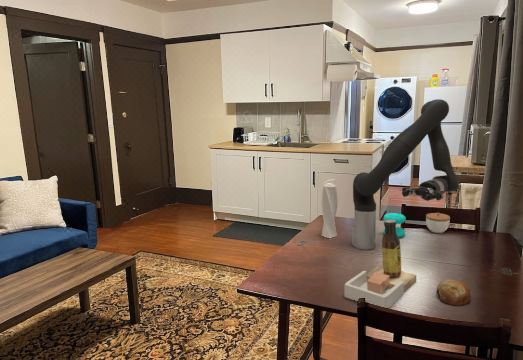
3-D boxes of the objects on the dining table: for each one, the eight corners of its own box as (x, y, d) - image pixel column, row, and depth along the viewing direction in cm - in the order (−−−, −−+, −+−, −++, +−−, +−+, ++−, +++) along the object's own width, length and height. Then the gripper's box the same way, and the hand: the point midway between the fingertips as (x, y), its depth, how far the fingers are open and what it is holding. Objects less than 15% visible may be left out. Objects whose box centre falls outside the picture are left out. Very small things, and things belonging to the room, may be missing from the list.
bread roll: (434, 301, 132) (426, 282, 131) (461, 287, 132) (453, 268, 130) (451, 316, 123) (442, 296, 121) (480, 301, 122) (471, 281, 121)
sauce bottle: (402, 278, 136) (401, 223, 132) (384, 278, 137) (382, 224, 133) (400, 270, 142) (398, 218, 138) (382, 270, 143) (380, 218, 140)
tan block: (371, 285, 132) (371, 277, 132) (376, 280, 136) (376, 272, 135) (384, 289, 130) (384, 281, 129) (389, 283, 133) (389, 275, 132)
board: (364, 282, 140) (364, 275, 139) (379, 271, 148) (379, 265, 148) (402, 294, 130) (402, 287, 130) (416, 281, 139) (416, 275, 138)
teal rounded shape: (381, 212, 190) (401, 212, 190) (380, 232, 192) (400, 231, 192) (387, 218, 180) (409, 217, 180) (386, 238, 182) (408, 238, 182)
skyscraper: (328, 233, 193) (328, 178, 187) (340, 236, 187) (341, 180, 182) (318, 237, 188) (318, 180, 182) (330, 240, 182) (331, 182, 177)
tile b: (370, 289, 133) (367, 292, 131) (370, 277, 132) (367, 280, 130) (383, 292, 130) (380, 296, 128) (383, 280, 129) (380, 284, 127)
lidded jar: (449, 228, 193) (450, 210, 191) (449, 235, 184) (450, 216, 182) (425, 226, 198) (426, 209, 196) (424, 233, 188) (425, 214, 186)
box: (343, 296, 130) (343, 284, 129) (363, 282, 140) (363, 270, 139) (384, 311, 120) (385, 298, 119) (403, 294, 130) (403, 282, 129)
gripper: (414, 177, 159) (397, 183, 147) (450, 182, 150) (436, 189, 138) (412, 195, 161) (395, 202, 149) (448, 201, 151) (434, 209, 139)
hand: (415, 196), depth 143 cm, fingers open, 8 cm apart
